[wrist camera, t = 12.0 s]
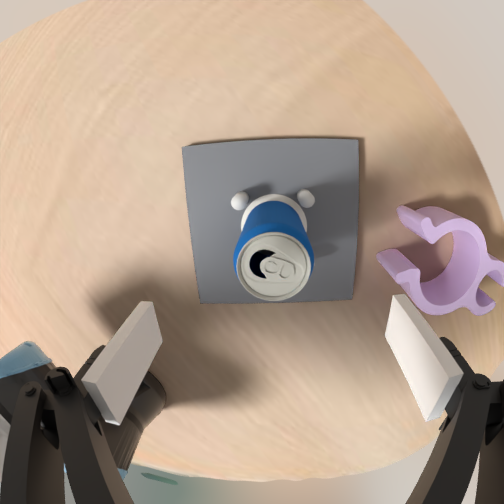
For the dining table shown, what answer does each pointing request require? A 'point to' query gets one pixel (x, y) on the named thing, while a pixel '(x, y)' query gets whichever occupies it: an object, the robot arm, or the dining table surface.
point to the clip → (457, 271)
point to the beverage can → (273, 252)
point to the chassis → (273, 189)
